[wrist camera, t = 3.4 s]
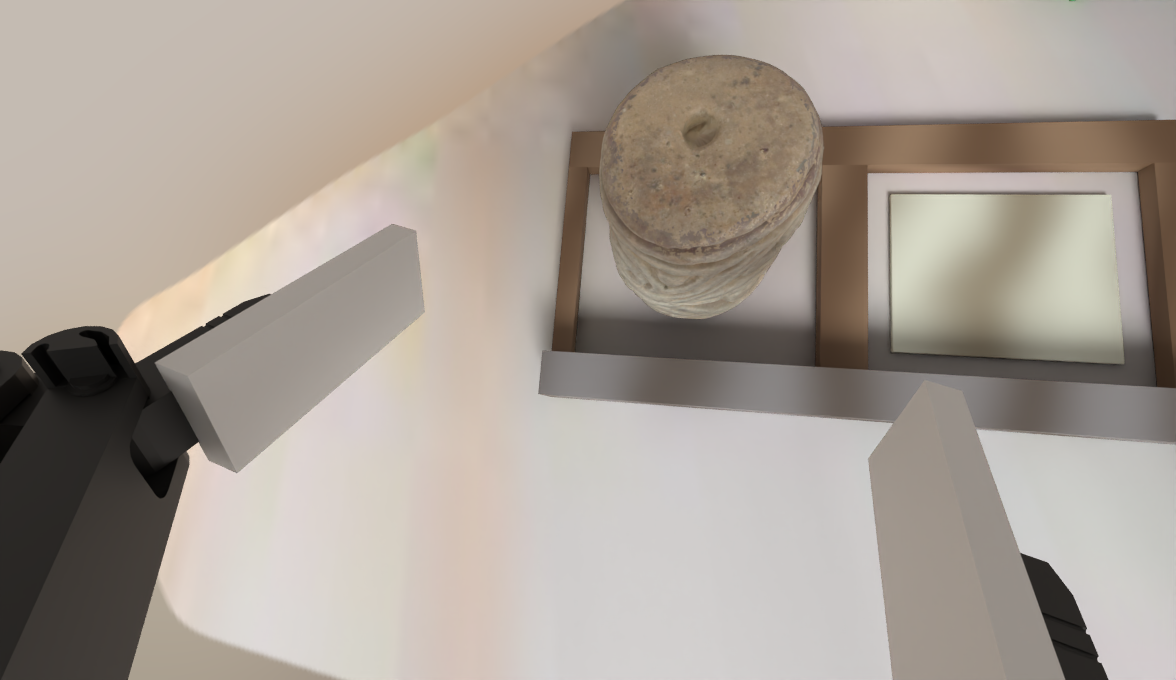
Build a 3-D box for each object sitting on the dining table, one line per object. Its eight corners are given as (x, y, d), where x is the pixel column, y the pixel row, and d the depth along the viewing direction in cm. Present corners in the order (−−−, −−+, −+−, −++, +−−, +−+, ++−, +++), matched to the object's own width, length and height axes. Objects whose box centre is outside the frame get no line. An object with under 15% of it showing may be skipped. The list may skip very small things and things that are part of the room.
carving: (598, 280, 26) (535, 162, 14) (698, 175, 26) (719, -28, 14) (690, 364, 24) (704, 309, 13) (797, 252, 24) (908, 96, 13)
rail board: (1160, 130, 23) (1218, 94, 20) (1191, 445, 21) (1260, 448, 18) (575, 140, 27) (565, 112, 25) (551, 396, 25) (538, 393, 23)
